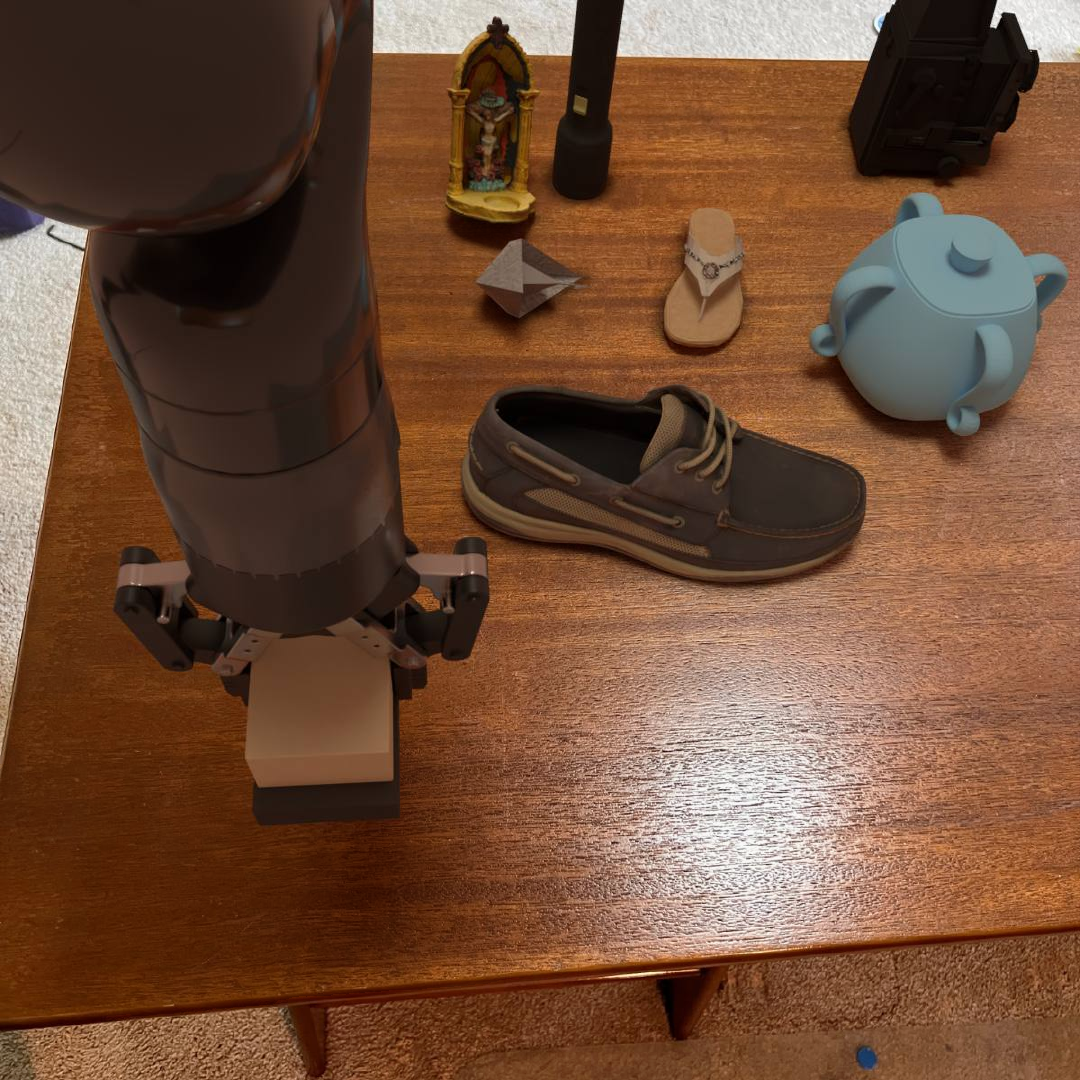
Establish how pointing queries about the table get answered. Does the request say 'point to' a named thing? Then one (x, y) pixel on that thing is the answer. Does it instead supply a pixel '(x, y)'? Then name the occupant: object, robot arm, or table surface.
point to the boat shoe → (658, 483)
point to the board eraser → (323, 733)
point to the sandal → (707, 283)
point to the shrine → (491, 129)
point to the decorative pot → (939, 316)
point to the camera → (940, 86)
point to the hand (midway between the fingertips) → (331, 683)
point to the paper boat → (524, 278)
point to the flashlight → (588, 102)
